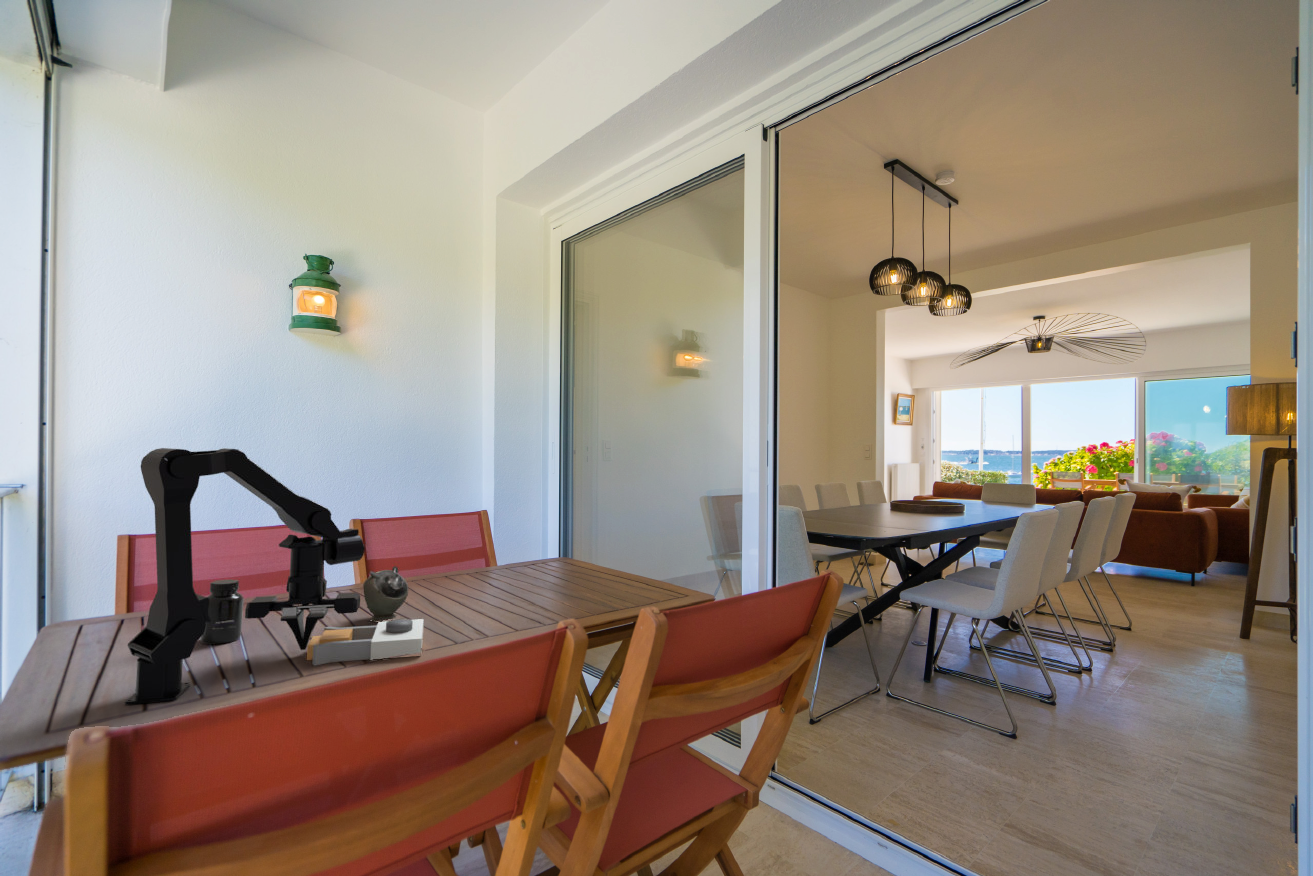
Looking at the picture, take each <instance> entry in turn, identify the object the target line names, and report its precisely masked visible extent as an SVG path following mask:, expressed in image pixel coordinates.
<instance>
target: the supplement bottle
mask: <svg viewBox="0 0 1313 876" xmlns="http://www.w3.org/2000/svg"><path fill="white" fill-rule="evenodd" d="M239 582H240V581H239V580H238V579H220V580H218V579H217V580H214V581H212V582H210V587H209V588H210V589H209V593H210V594H209V595H207V596H206V597H208V598H209V608H208V615H209V618H210V620H211V622H206V631H205V633H204V635H202V636H201V637H200V642H201V643H202V644H205V645H222V644H229V643H233V642H235V641H238V640H239V639H240V638H241V635H242V629H243V627H242V626H243V613H244V612H243V610H244V596H243V594H242V593H240V592H238V591H239V589H240V587H239V585H240V584H239Z"/></svg>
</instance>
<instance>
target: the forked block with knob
mask: <svg viewBox="0 0 1313 876" xmlns="http://www.w3.org/2000/svg"><path fill="white" fill-rule="evenodd" d="M424 619H425V618H420V619H418V618H417V619H408V618H400V619H396V620H391V621H382V622H378V623H377V624H376V625H363V626H359V625H358V626H346V627H345V626H344V627H338V626H329V625H328V626H326V627H324V630H323V632H324V631H325V630H339V629H353V632H352V640H348V641H333V642H332V643H331V642H327V643H322V644H317V645H313V660H312V661H311V662H312V665H313V666H315V667H316V666H321V665H323V664H324V665H325V664H329V663H336V662H350V661H351V662H352V661H361V660H362V661H364V660H370V661H374V660H373V659H381V658H388V657H390V656H397V655H405V654H415V653H421V654H422V650H421V648H422V647H423V640H424V639H423V638H424ZM422 639H423V640H422ZM422 649H423V648H422Z"/></svg>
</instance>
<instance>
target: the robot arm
mask: <svg viewBox="0 0 1313 876" xmlns="http://www.w3.org/2000/svg"><path fill="white" fill-rule="evenodd" d="M140 462H141V463H140V471H141V472H140V473H141V475H142V479H143V483H144V486H145V489H146V491H147V492H148V495H149V496H150V499H151V501H152V503H153V505H154V524H155V525H154V526H155V527H154V528H155V529H154V530H155V549H156V550H155V554H156V555H155V557H156V579H157V580H156V581H157V585H156V586H157V589H156V590H157V591H156V594H155V595H154V598H153V600H152V602H151V605H150V606H149V611H148V617H147V624H146V625H145V627H144V628H142V630H140V632H138V634H136V635H135V636H134V637H132V639H131V640H130V641H129V642H128V643H127V648H128V650H129V652H130V655H131V656H134V657H135V656H136V657H137V662H136V677H135V678H136V680H135V692H134V693H133V694H132V695H131V696H129V697H128V698H127V699H125V700H124V704H125V705H133V704H134V705H135V704H146V703H148V704H149V703H156V702H157V703H159V702H169V701H175V700H176V699H178V698H179V697H180V695H182V694H183V693H184V692H186V691H187V689H188V688H189V687H190V686H191V682H189V681H188V682H182V681H183V662H184V660H186V659H189V658H191V655H192V653H193V651H194V648H195V646H196V643H197V642H198V641H199V639H201V636H202V635H204V633H205V631H206V622H211V620H210V618H209V615H208V608H209V598H208V597H207V596H204V595H201V594H198V593H196V591H195V589H194V574H193V573H194V572H193V548H192V547H193V544H192V520H191V518H192V517H191V515H192V514H191V503H192V500H193V498H194V495H195V494H196V491H197V489H198V487H199V481H200V478H201V477H207V476H213V475H218V474H223V473H224V474H225V475H226V476H228V477H229V478H231V479H232V480H233V481H235V482H236V483H238V484H239V485H240V486H242V487H243V488H245V490H247V491H249V492H250V493H251V494H253V495H254V496H256V497H257V498H258V499H260V500H261V501H263V502H264V503H266V504H267V505H268V506H270V507H271V508H272V509H273V510H274V512H276V514H277V516H278V518H279V520H280V521H281V522H282V523H283V524H284V525H285V526H286V527H287V528H288V529H289V530H290V531H292V532H294V533H300V534H304V535H305V534H306V535H309V536H304V537H303V536H302V537H299V536H297V535H294V534H288V535H287V536H286V538H285V539H283V540H282V541H281V542H280V543H278V547H280V548H284V549H288V550H290V561H289V562H290V563H289V576H288V578H287V582H286V587H285V588H286V592H287V593H288V600H278V597H277V596H276V595H269V596H268V595H267V596H256V597H254V598H253V599H252V600H251V601H250V602H249V603H247V604H246V606H245V611H244V613H245V614H244V618H245V619H248V620H249V619H251V620H252V619H264V618H266V616H267V615H269V613H270V612H281V617H280V621H281V622H286V624H287V625H288V627H289V629H290V630H291V631H292V633H293V635H294V638H295V640H296V642H297V645H298V647H299V649H300V651H305V650H307V646H308V644H309V642H310V641H311V637H312V634H313V632H314V629H315V627H316V625H317V623H318V621H319V620H322V619H324V618H326V615H327V614H328V612H329V609H333V610H334V611H335V613H336V614H338V615H339V614H354V613H358V612H357V611H358V610H359V608H360V607H361V595H360V593H358V592H357V591H356V592H339V593H338V594H337V595H336V597H335V598H334V597H332V598H324V597H326V593H327V584H328V580H327V579H326V578H325V577H324V571H325V568H324V567H325V563H326V564H327V565H329V566H334V565H339V564H340V565H341V564H346V563H353V562H359V561H360V560H362V558H363V557H364V554H365V549H366V547H365V544H364V541H363V538H362V537H361V536H360V535H359V534H360V531H359V529H358V528H357V529H356V528H347V529H343V530H340V529H339V528H338V526H337V525H336V524H335V523H334V521H333V519H332V512H331V511H330V509H328V508H327V507H326V506H324V505H323V504H320V503H318V502H316V501H314V500H312V499H310V498H306V497H305V496H302V495H299V494H298V493H295V492H294V491H293V490H291V489H290V488H289V487H288V486H287V485H285V484H283V483H282V482H281V481H280V480H279V479H277V478H276V477H275V476H273V475H272V474H271V473H269V472H267V471H266V470H265V469H264V468H263V467H261V466H260V465H259V464H257V463H256V462H255V461H253V460H252V459H251V458H249V457H248V456H247V455H246V453H245V452H244V451H242V449H241V450H240V449H238V448H237V449H236V448H220V449H217V450H216V449H214V450H202V451H201V450H199V451H190V450H188V449H182V448H166V447H165V448H164V447H161V448H155V449H153V450H151V451H149V452H148V453H147V454H146V455H144V456H143V458H142V459H141V461H140ZM313 536H314V537H313ZM315 537H319V538H321V539H316V538H315ZM306 610H308V612H309V613H308V615H307V616H306V617H305V625H304V616H305V611H306Z"/></svg>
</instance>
